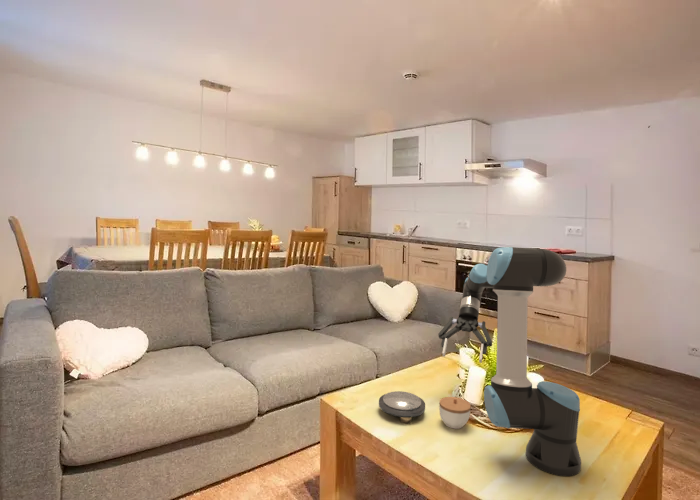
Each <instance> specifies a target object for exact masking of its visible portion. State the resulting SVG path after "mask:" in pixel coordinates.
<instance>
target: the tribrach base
mask: <svg viewBox="0 0 700 500" xmlns="http://www.w3.org/2000/svg"><path fill="white" fill-rule="evenodd" d="M378 407H379V409H380V410H381V411H382V412H384V413H385V414H388V415H390V416H393V417H394V416H395V417H399V421H400V422H401V423H403V424H411V423H412V418H414V417H419V416H421V415H422V414H423V413H424V412H425V411H426V402H425V400H424V399H423V398H421V397H420V396H418V395H417V394H415V393H412V392H407V391H403V390H401V391H399V390H398V391H390V392H387V393H384V394H382V395H381V396H380V397H379V399H378Z"/></svg>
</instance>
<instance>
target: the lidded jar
mask: <svg viewBox="0 0 700 500" xmlns="http://www.w3.org/2000/svg"><path fill="white" fill-rule="evenodd" d="M438 404H439V406H438V407H439V416H440V419H441V421H442V422H443V424H444V425H445V426H446V427H448V428H450V429H453V430H458V429H459V430H460V429H462V428H463V426H465V425H466V424H467V423H468V421H469V419H470V415H471V409H472V405H471V403H470V402H469V401H468V400H465V399H464V398H460V397H458V396H457V397H456V396H445V397H442V398H440V399H439V403H438Z"/></svg>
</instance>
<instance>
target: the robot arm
mask: <svg viewBox="0 0 700 500" xmlns="http://www.w3.org/2000/svg"><path fill="white" fill-rule="evenodd" d="M566 275H567V264H566V262H565V260H564V259H563V257H562V256H561V255H560V254H558V253H557V252H555V251H554V250H553V251H552V250H550V249H546V248H529V247H512V246H510V247H509V246H507V247H506V246H505V247H497V248H495V249H494V250H493V251H492V253H491V254H490V256H489V258H488V262H487V265H486V264H484V263H477V264H475V265H473V267H472V269H471V270H470V272H469V275H468V277H466V278H465V280H464V284H463V288H462V289H463V291H462V297H461V302H460V306H459V311H458V312H459V313H458V317H457V318H454V317H453V316H450V318H449V320H448V322H447V323H446V324H445V325H444V326H443V328H441V330H440V331H438V332H439V333H438V335H437V336H438V338H439V339H440V340H441V348H442V357H446V352H447V346H448V339H450V338H451V337H452V336H454V335H455V334H456V333H458V332H459V333H460V331H461V332H466V333H471V332H472V333H473V334H474V335H475V337H476V338H477V339H478V340H479V342H480V350H479V351H480V353H479V358H478V359H479V363H480V364H482V362H483V361H482V360H483V356H484V355H486V354H487V347H492V346H493V340H492V338H491V336H490V334H489V332H488V329H487V327H486V321H484V320H482V322H479V320H478V319H479V315H480V313H479V312H480V307H481V301H482V295H483V292H484V290H485V289H486V288H487V289H492V291H493V292H494V293H495V294H496V295H497V325H496V326H497V327H496V330H497V331H496V334H497V335H496V371H495V373H496V374H494V375H493V376H492V377H491V378H490V385H486V386H485V387H484V390H483V398H484V400H483V401H484V405H485V410H486V414H487V417H488V419H489V421H490V422H491V424H492V425H493V426H495V427H496V428H506V429H526V430H527V429H529V430H533V431H532V434H531V436H530V438H529V440H528V442H527V444H526V447H525V458H526V459H527V461H529V463H530V464H531V465H532V466H534V467H535V468H537V469H539V470H541V471H543V472H544V473H548V474H552V475H554V474H555V476H560V477H572V476H576V475H578V474H579V473H580V472H581V470H580V469H581V468H582V460H581V456H580V452H579V447H578V445H577V444H578V443H577V439H578V438H577V437H578V427H579V417H580V411H581V407H580V405H581V404H580V403H581V400H580V397H579V395H578V394H577V392H575V391H574V390H572V389H571V388H569V387H567V386H565V385H562V384H560V383H556V382H552V381H546V380H545V381H544V380H543V381H539V382H537V385H536V387H534V388H533V382H531V381H530V380H529V378H528V377H527V376H528V374H527V372H528V367H527V366H528V305H529V304H528V303H529V299H528V298H529V297H530V296H531V295H532V294H533V293H534V287H548V286H549V287H550V286H556V284H559V283H560V282H562V281H563V280H564V278H565V276H566ZM455 324H456V325H455ZM453 325H455V326H454V327H452V326H453ZM478 327H479V328H480V329H482V333H483V335H484V337H485V338H484V337H483V335H482V334H481V332H480V331H479V330H478V329H477V328H478Z"/></svg>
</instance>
